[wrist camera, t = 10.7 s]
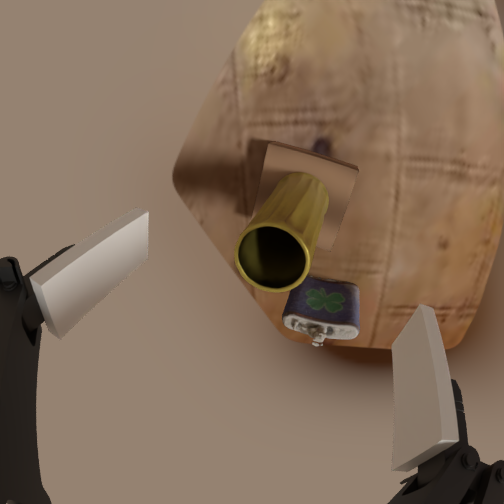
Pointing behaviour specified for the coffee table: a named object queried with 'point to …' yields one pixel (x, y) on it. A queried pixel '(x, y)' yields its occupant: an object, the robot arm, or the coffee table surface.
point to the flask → (323, 309)
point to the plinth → (322, 167)
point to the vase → (283, 234)
